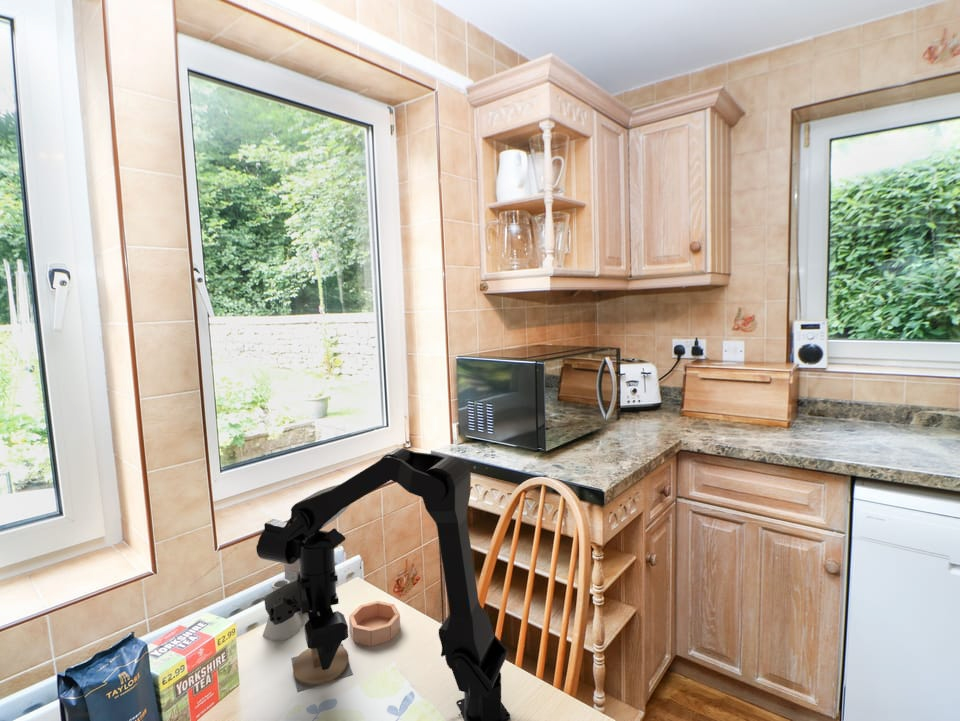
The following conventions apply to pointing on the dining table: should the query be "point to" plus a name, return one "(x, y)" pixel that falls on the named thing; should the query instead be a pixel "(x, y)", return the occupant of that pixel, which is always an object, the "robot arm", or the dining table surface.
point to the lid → (319, 667)
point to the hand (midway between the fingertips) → (321, 652)
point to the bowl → (374, 623)
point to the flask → (285, 628)
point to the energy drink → (292, 572)
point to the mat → (303, 687)
